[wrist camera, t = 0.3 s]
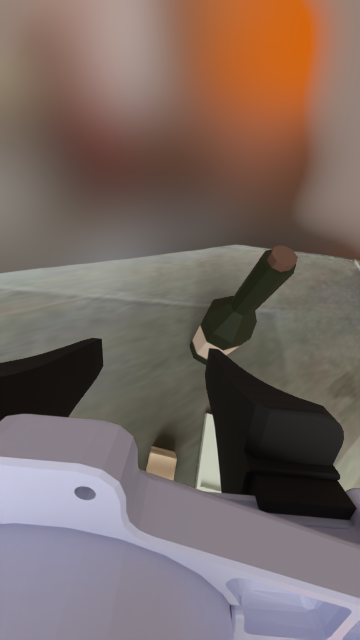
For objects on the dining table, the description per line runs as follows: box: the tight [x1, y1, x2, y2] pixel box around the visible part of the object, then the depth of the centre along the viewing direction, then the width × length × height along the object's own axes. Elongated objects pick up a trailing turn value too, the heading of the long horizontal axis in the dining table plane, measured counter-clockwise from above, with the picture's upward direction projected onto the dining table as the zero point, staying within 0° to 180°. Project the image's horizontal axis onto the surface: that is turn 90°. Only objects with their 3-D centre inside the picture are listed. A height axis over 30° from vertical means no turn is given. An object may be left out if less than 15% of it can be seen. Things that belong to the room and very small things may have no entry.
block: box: [146, 446, 177, 481], centre depth 31 cm, size 4×4×5 cm
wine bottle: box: [190, 246, 298, 365], centre depth 30 cm, size 8×8×30 cm
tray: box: [195, 413, 221, 493], centre depth 34 cm, size 12×12×2 cm
